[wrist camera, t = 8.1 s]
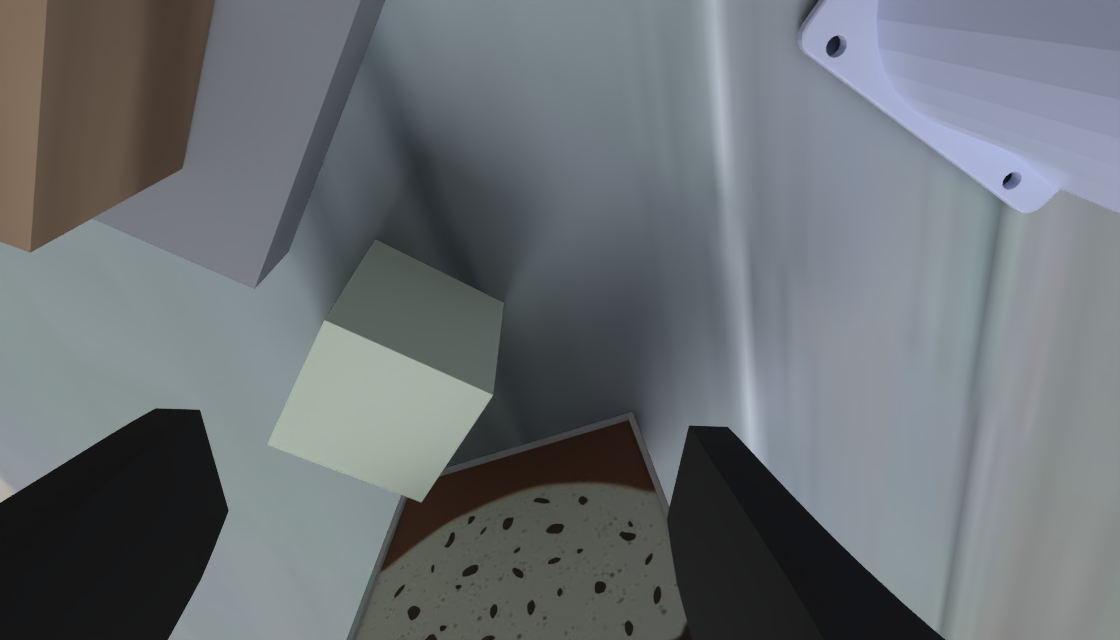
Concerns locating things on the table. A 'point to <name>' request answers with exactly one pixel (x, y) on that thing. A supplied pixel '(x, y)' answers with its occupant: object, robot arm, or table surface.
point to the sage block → (394, 375)
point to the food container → (532, 548)
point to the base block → (254, 133)
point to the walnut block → (91, 106)
